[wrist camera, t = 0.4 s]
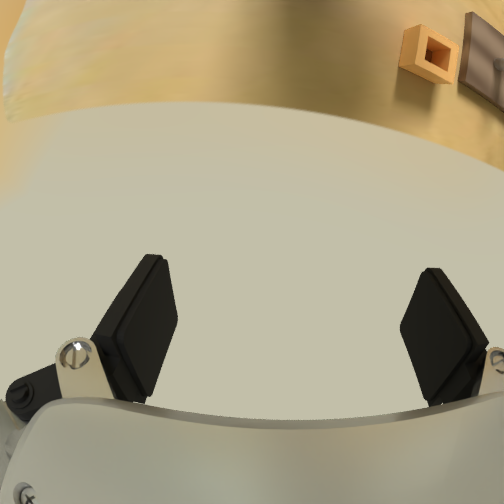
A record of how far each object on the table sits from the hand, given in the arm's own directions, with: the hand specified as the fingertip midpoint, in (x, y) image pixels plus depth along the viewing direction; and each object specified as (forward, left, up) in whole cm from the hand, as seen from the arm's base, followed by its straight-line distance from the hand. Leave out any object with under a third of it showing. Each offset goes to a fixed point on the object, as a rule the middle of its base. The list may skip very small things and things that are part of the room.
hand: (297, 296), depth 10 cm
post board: (-25, +34, -29) cm, 51 cm away
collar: (-19, +16, -29) cm, 38 cm away
